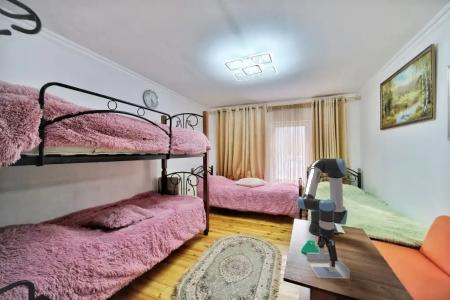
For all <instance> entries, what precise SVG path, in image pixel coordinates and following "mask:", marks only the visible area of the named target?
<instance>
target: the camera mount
mask: <svg viewBox="0 0 450 300" xmlns="http://www.w3.org/2000/svg"><path fill="white" fill-rule="evenodd" d="M300 251H301V252H302V253H304V254H307V253H319V247H317V245H316V242H315V240H314V239H313V238H308V240H307V241H306V243H305V244H304V245H303V246H302V248H301V250H300Z"/></svg>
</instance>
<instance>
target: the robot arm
mask: <svg viewBox="0 0 450 300" xmlns="http://www.w3.org/2000/svg"><path fill="white" fill-rule="evenodd" d="M307 171H308V176H307V179H306V183H305V187H304V191H303V195H302V196H299V197H298V198H297V207H298V208H299V209H302V210H307V211H308V210H309V211H310V223H309V226H308V232H309V233H311V234H312V235H314V236H318V239H317V243H316V244H317V246H318V249H319V259H324V253H325V247H326V248H327V251H328V252H327V253H329V256H330V259H329V265H330V272H335V261H338V258H339V257H338V254H337V249H336V241H334V240H333V239H332V237H334V236H335V224H338V225H343V226H345V225H346V224H347V218H348V213H349V210H347V209H346V207H345V206H344V193H343V179H344V178H345V175H346V176H347V174H348V170H347V165H346V161H345V159H344V158H343V159H342V158H317V159H315V161H313V162H312V163H311V164H310V166H309V167H308V170H307ZM323 174H326V177H328V179H329V197H330V199H329V198H328V199H318V198H316V196H317V195H316V194H317V191H318V186H319V181H320V177H321V176H322V175H323ZM337 257H338V258H337Z"/></svg>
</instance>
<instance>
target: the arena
mask: <svg viewBox="0 0 450 300" xmlns="http://www.w3.org/2000/svg"><path fill="white" fill-rule="evenodd" d="M337 258H338V261H335V272H330V265H329V259H330V256H329V252H324V259H319V253H306V262H307V264H308V265H309V266H310V268H311V270H313V272H314V274H315V275H316V276H317V278H318V279H345V280H346V279H350V278H351V276H350V275H351V274H350V273H351V271H350V268H349V267H348V266H347V265H346V264H345V263H344V262H343V261H342V260H341V259H340V258H339V257H338V256H337Z"/></svg>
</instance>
